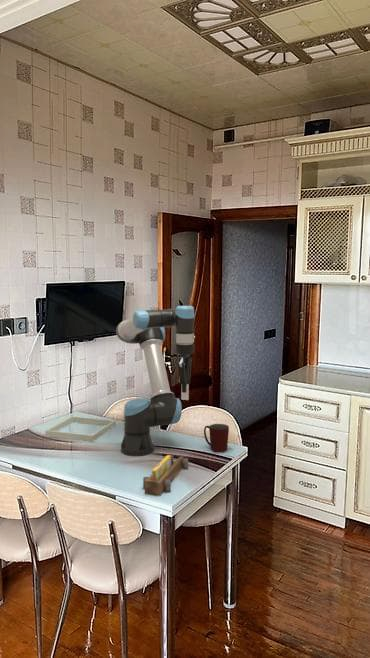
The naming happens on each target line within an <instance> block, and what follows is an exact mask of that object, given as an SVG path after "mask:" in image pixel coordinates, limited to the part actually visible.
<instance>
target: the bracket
mask: <svg viewBox="0 0 370 658" xmlns="http://www.w3.org/2000/svg"><path fill="white" fill-rule="evenodd" d="M170 455H171V467H170V468H169V469H168V470H167V472H166V473H165V474H164V475H163V476H162V477H161V478H160V480H159V481H158V480H152V474H150V476H144V477H143V478H142V483H143V485H142V486H143V487H142V488H143V490H144V494H145V495H151V496H159V497H161V496H162V495H163V493H171V491H172V490H171V487H172V486H171V483H172V482H173V481H174V480H175V478H176V477H177V475H179V473H181V470H184V471H185V470H188V469H189V459H188V458H187V457H184V456H178V458H177V459H176V460H175V461H174V455H173V454H170ZM166 456H167V455H163V457H162V460H163V459H164V458H165V457H166Z"/></svg>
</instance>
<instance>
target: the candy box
mask: <svg viewBox="0 0 370 658" xmlns="http://www.w3.org/2000/svg"><path fill="white" fill-rule="evenodd" d="M171 455H172V454H168V455H165V456H166V457H165V458H164V459H163V458H162V460H161V461H160V462H159V463H157V465H156V466H155V467H154V468H153V469H151V475H152V480H158V481H159V480H160V478H161V477H162V476H163V475H164V474H165V473H166V472H167V470H168V469H169V468H170V467H171Z"/></svg>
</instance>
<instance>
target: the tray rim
mask: <svg viewBox="0 0 370 658" xmlns="http://www.w3.org/2000/svg"><path fill="white" fill-rule="evenodd" d="M72 422H73V423H74V422H78V423H77V424H84V423H88V424H87V425H94V424H98V425H97V426H103V427H102V428H100V429H99V430H97V431H95V432H93V434H83V433H75V432H66V431H60V430H61V429H60V428H62V427H64V426H66V425H67V426H69V425H71V424H72ZM70 423H71V424H70ZM116 423H117V422H116V420H114V419H113V420H112V419H102V418H95V417H94V418H92V417H83V416H82V417H81V416H73V415H72V416H70V417H69V418H66V419H65V420H62V421H61V422H58V424H55V425H54V426H51V427H49V428H48V429H46V430H44V431H45V432H44V434H45V435H44V436H50V437H49V438H53V437H57V438H56V439H62V438H65V439H64V440H71V439H74V440H73V441H80V440H82V441H81V442H88V441H89V443H93V442H95V441H96V440H98V439H99V438H100V436H101V437H102V436H103V435H105V434H106V433H108V432H109V431H111V430H112V429H114V428H115V427H116V425H117V424H116ZM68 424H69V425H68ZM104 425H106V426H104ZM67 426H66V427H67ZM113 427H114V428H113ZM64 428H65V427H64ZM59 429H60V430H59ZM62 429H63V428H62ZM57 430H59V431H57ZM97 438H98V439H97ZM94 440H95V441H94Z"/></svg>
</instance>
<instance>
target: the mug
mask: <svg viewBox="0 0 370 658" xmlns="http://www.w3.org/2000/svg"><path fill="white" fill-rule="evenodd" d="M229 426H230V425H228V424H225V423H213V424H210V425H205V426H204V429H203V437H204V439H205V441H206V443H207V445H208V446H209V447H210V450H211V452H213V453H217V452H222V453H225V451H226V452H227V451H228V443H229V432H230V431H229V429H230V427H229ZM207 429H208V430H209V439H208V437H207Z"/></svg>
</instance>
